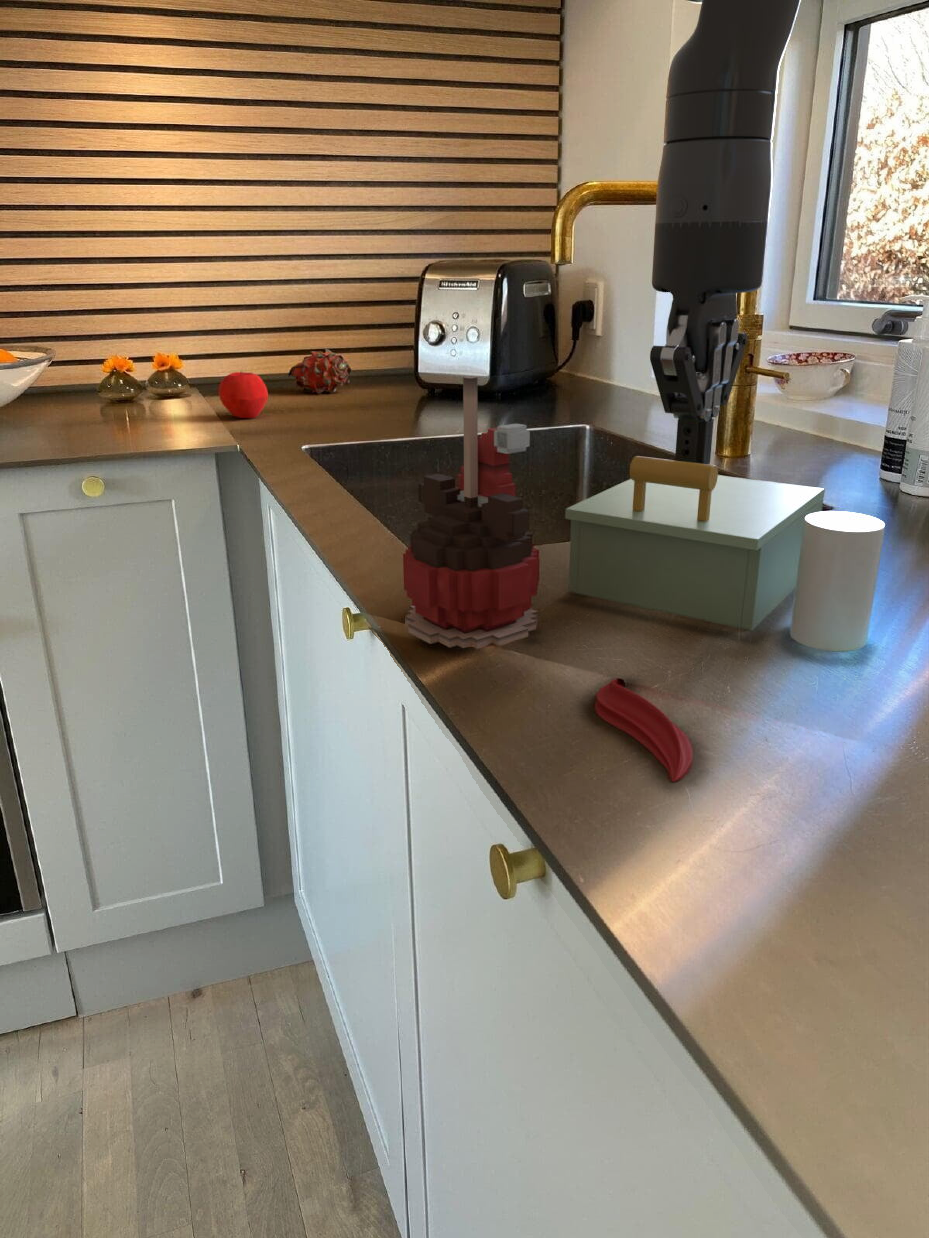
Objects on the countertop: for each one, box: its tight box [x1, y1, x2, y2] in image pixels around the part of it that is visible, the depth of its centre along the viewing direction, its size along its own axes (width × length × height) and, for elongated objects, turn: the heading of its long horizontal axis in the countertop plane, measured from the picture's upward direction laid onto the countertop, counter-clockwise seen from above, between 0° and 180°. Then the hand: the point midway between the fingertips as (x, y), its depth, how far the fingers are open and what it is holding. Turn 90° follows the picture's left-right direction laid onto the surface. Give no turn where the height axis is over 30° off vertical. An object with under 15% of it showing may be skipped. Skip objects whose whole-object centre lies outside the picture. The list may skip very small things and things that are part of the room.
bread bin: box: [568, 498, 824, 631], centre depth 75 cm, size 16×15×7 cm
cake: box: [402, 375, 540, 650], centre depth 65 cm, size 11×9×18 cm
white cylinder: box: [789, 510, 887, 652], centre depth 63 cm, size 5×5×9 cm
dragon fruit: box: [287, 348, 352, 395], centre depth 177 cm, size 8×8×12 cm
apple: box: [218, 370, 269, 419], centre depth 152 cm, size 8×8×7 cm
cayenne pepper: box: [594, 677, 694, 783], centre depth 54 cm, size 12×5×2 cm, turn 179°
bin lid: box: [564, 455, 826, 550], centre depth 72 cm, size 16×15×5 cm
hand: (692, 468), depth 70 cm, fingers closed
